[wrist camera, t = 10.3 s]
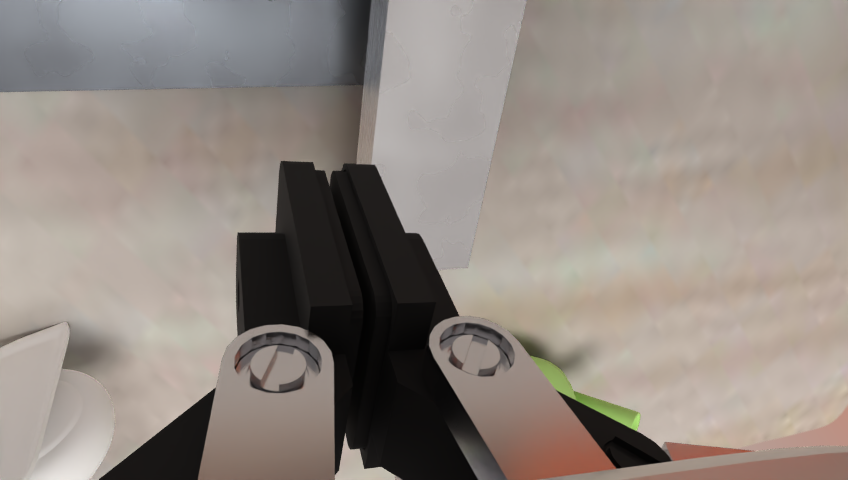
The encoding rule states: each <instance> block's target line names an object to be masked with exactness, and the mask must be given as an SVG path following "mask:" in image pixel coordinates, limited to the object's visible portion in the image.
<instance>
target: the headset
mask: <svg viewBox="0 0 848 480" xmlns="http://www.w3.org/2000/svg"><path fill="white" fill-rule="evenodd" d="M69 335H70V328H69V325H68V323H67V322H64V323H60V324H57V325H55V326H52V327H49V328H47V329H44V330H41V331H39V332H36V333H33V334H31V335H28V336H25V337H23V338H20V339H18V340H16V341H14V342H11V343H9V344H7V345H5V346H3V347H1V348H0V480H89V479H90V478H91V477H92V475H93V474H94V473H95V472H96V470H97V469H98V467H99V466H100V464H101V463H102V461H103V459H104V458H105V456H106V454H107V452H108V450H109V447H110V444H111V442H112V438H113V434H114V428H115V412H114V407H113V403H112V400H111V397H110V395H109V394H108V392H107V390H106V389H105V388H104V386H103V385H102V384H101V383H100V382H98V381H97V380H96V379H95V378H93V377H91V376H89V375H87V374H85V373H82V372H79V371H75V370H69V369H62V365H63V361H64V357H65V353H66V349H67V345H68V341H69Z"/></svg>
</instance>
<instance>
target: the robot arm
mask: <svg viewBox="0 0 848 480" xmlns="http://www.w3.org/2000/svg"><path fill="white" fill-rule="evenodd" d="M236 310H237V332H238V336H237V337H236V338H235V339H234V340H233V341H232V342H231V343H230V344H229V345H228V346H227V348H226V350H225V353H224V355H223V357H222V361H221V366H220V371H219V376H218V381H217V386H216V388H215V389H213V390H212V391H211V392H209V393H208V394H207V395H206V396H204V397H203V398H202V399H201V400H199V401H198V402H197V403H196V404H194V405H193V406H192V407H190V408H189V409H188V410H187V411H185V412H184V413H183V414H182V415H180V416H179V417H178V418H176V419H175V420H174V421H173V422H171V423H170V424H169V425H168V426H166V427H165V428H164V429H162V430H161V431H160V432H159V433H157V434H156V435H155V436H154V437H152V438H151V439H150V440H148V441H147V442H146V443H145V444H143V445H142V446H141V447H140V448H138V449H137V450H136V451H135V452H133V453H132V454H131V455H129V456H128V457H127V458H126V459H124V460H123V461H122V462H121V463H119V464H118V465H117V466H115V467H114V468H113V469H112V470H110V471H109V472H108V473H107V474H105V475H104V476H103V477H101V478H100V479H99V480H335V474H336V473H337V472H338V471H339V466H340V460H341V454H342V448H343V442H344V436H345V433H346V438H347V442H348V446H349V448H350V449H360V452H361V456H362V460H363V465H364V469H367V468H375V467H383V468H384V469H386V470H387V471H389V472H391V473H392V474H394V475H395V480H848V446H811V447H796V448H779V449H770V450H762V451H751V450H741V449H731V448H721V447H711V446H701V445H691V444H681V443H671V442H665V443H664V444H663V446H662V448H660V447H659V446H658V445H657V444H656V443H655V442H654V441H652V440H650V439H649V438H647V437H646V436H644V435H643V434H641V433H639V432H637V431H635V430H633V429H631V428H629V427H627V426H625V425H624V424H622V423H620V422H618V421H616V420H614V419H612V418H610V417H608V416H606V415H604V414H602V413H600V412H598V411H596V410H594V409H592V408H590V407H588V406H586V405H584V404H582V403H580V402H578V401H576V400H575V399H573V398H571V397H569V396H567V395H565V394H563V393H561V392H559V391H557V390H556V389H555V388H554V387H553V385H552V384H551V383H550V382H549V380H548V379H547V378H546V376H545V375H544V374H543V372H542V371H541V370H540V369H539V367H538V366H537V365H536V363H535V362H534V361H533V359H532V358H531V357H530V356H529V354H528V353H527V352H526V350H525V349H524V348H523V346H522V345H521V344H520V342H519V341H518V340H517V339H516V338H515V337H514V336H513V335H512V334H511V333H510V332H509V331H508V330H506V329H504V328H503V327H501V326H500V325H498V324H496V323H494V322H491V321H488V320H486V319H483V318H477V317H471V316H459V314H458V312H457V310H456V308H455V306H454V304H453V302H452V300H451V297H450V295H449V293H448V291H447V289H446V287H445V285H444V283H443V281H442V278H441V276H440V274H439V272H438V270H437V268H436V266H435V264H434V262H433V260H432V257H431V255H430V253H429V251H428V249H427V247H426V245H425V243H424V241H423V239H422V237H421V236H420V234H418V233H405V231H404V228H403V226H402V224H401V221H400V219H399V217H398V215H397V212H396V210H395V208H394V206H393V203H392V201H391V199H390V197H389V194H388V192H387V190H386V188H385V185H384V183H383V181H382V179H381V176H380V174H379V172H378V170H377V167H376V166H375V165H371V164H344V165H343V168H342V171H333V172H332V175H331V180H330V187H329V183H328V180H327V177H326V173H325V171H321V170H315V168H314V164H313V162H291V161H281V163H280V170H279V185H278V201H277V217H276V232H275V233H238V235H237V262H236Z"/></svg>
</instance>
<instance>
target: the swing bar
mask: <svg viewBox="0 0 848 480" xmlns="http://www.w3.org/2000/svg"><path fill="white" fill-rule="evenodd" d="M526 1H527V0H371V9H370V20H369V31H368V42H367V53H366V64H365V75H364V86H363V96H362V107H361V118H360V129H359V140H358V151H357V162H356V164H371V165H375V166H376V167H377V170H378V172H379V174H380V176H381V179H382V181H383V183H384V185H385V188H386V190H387V192H388V194H389V197H390V199H391V201H392V203H393V206H394V208H395V210H396V212H397V215H398V217H399V219H400V221H401V224H402V226H403V228H404V231H405V233H418V234H420V236H421V237H422V239H423V241H424V243H425V245H426V247H427V249H428V251H429V253H430V255H431V257H432V260H433V262H434V264H435V266H436V268H437V270H444V269H458V268H468V265H469V260H470V256H471V251H472V247H473V242H474V237H475V233H476V228H477V224H478V219H479V215H480V210H481V206H482V201H483V197H484V192H485V187H486V183H487V178H488V174H489V169H490V165H491V160H492V156H493V151H494V147H495V142H496V138H497V133H498V128H499V124H500V119H501V115H502V110H503V106H504V101H505V97H506V92H507V88H508V83H509V78H510V74H511V69H512V65H513V60H514V56H515V51H516V47H517V42H518V38H519V33H520V28H521V24H522V19H523V15H524V10H525V6H526Z"/></svg>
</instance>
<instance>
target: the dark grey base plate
mask: <svg viewBox="0 0 848 480" xmlns="http://www.w3.org/2000/svg"><path fill="white" fill-rule="evenodd" d="M370 9H371V0H0V92H26V91H78V90H129V89H180V88H231V87H283V86H334V85H364V75H365V64H366V53H367V42H368V31H369V20H370Z"/></svg>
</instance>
